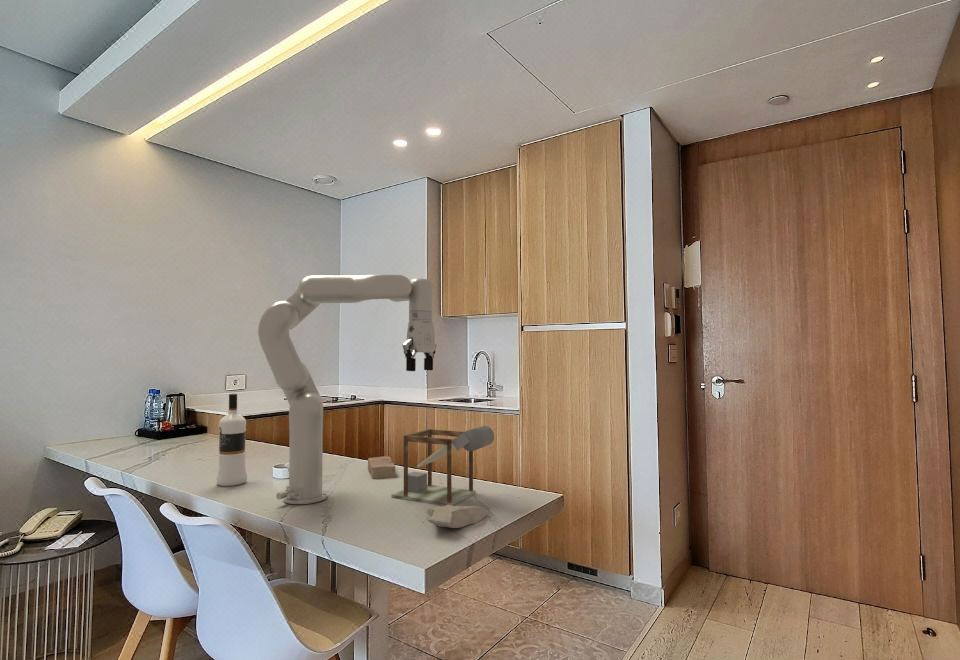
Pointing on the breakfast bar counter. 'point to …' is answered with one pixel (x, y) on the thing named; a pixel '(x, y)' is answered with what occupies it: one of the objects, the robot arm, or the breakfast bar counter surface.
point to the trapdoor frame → (432, 492)
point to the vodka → (232, 447)
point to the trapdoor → (464, 443)
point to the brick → (381, 467)
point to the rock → (456, 515)
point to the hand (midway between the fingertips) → (419, 370)
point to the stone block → (417, 482)
